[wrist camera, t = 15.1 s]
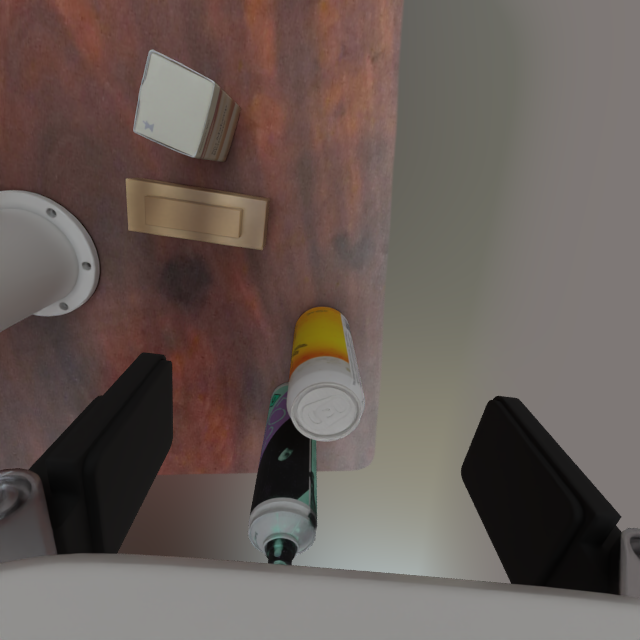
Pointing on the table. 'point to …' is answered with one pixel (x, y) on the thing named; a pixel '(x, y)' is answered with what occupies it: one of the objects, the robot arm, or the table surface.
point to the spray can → (284, 488)
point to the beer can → (324, 377)
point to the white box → (184, 110)
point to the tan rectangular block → (197, 213)
